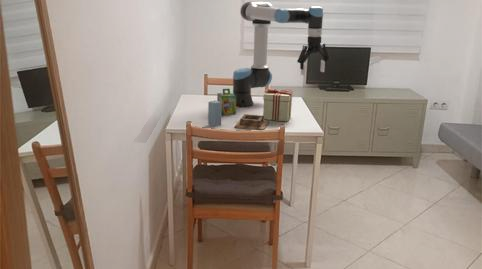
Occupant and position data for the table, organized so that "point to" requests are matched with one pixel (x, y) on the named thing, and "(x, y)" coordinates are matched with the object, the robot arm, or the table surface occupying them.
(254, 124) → the cradle
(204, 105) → the table surface
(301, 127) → the table surface
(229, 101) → the chalk box
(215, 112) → the block
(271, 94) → the gift box
